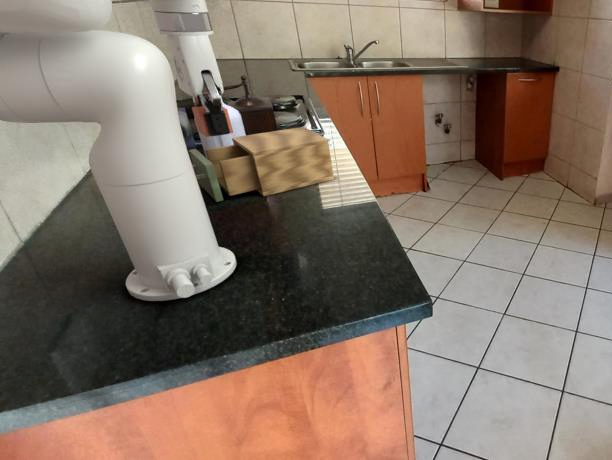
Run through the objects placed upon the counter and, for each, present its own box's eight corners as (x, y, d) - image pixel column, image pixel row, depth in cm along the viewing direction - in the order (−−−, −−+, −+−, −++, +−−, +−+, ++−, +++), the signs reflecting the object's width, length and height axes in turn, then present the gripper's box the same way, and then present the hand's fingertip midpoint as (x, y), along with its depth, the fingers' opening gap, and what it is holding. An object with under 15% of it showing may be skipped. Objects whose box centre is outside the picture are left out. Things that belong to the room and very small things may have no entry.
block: (206, 137, 77) (198, 112, 75) (198, 131, 80) (191, 107, 78) (233, 133, 80) (227, 108, 78) (225, 127, 83) (219, 104, 81)
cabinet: (263, 196, 84) (252, 152, 80) (242, 179, 91) (231, 137, 87) (334, 179, 94) (327, 139, 90) (310, 164, 101) (303, 126, 97)
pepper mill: (277, 131, 123) (263, 65, 114) (281, 142, 115) (266, 71, 106) (214, 136, 116) (194, 66, 107) (213, 148, 108) (191, 73, 99)
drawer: (183, 209, 76) (169, 171, 72) (168, 191, 82) (155, 155, 79) (290, 184, 88) (283, 150, 84) (270, 170, 94) (263, 137, 91)
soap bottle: (258, 155, 104) (232, 48, 93) (218, 165, 98) (185, 50, 86) (238, 148, 108) (210, 44, 97) (199, 157, 102) (164, 46, 90)
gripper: (146, 20, 74) (180, 124, 82) (170, 28, 64) (206, 146, 72) (196, 20, 78) (224, 119, 87) (226, 28, 68) (253, 138, 77)
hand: (215, 130), depth 80 cm, fingers closed on block, 4 cm apart
